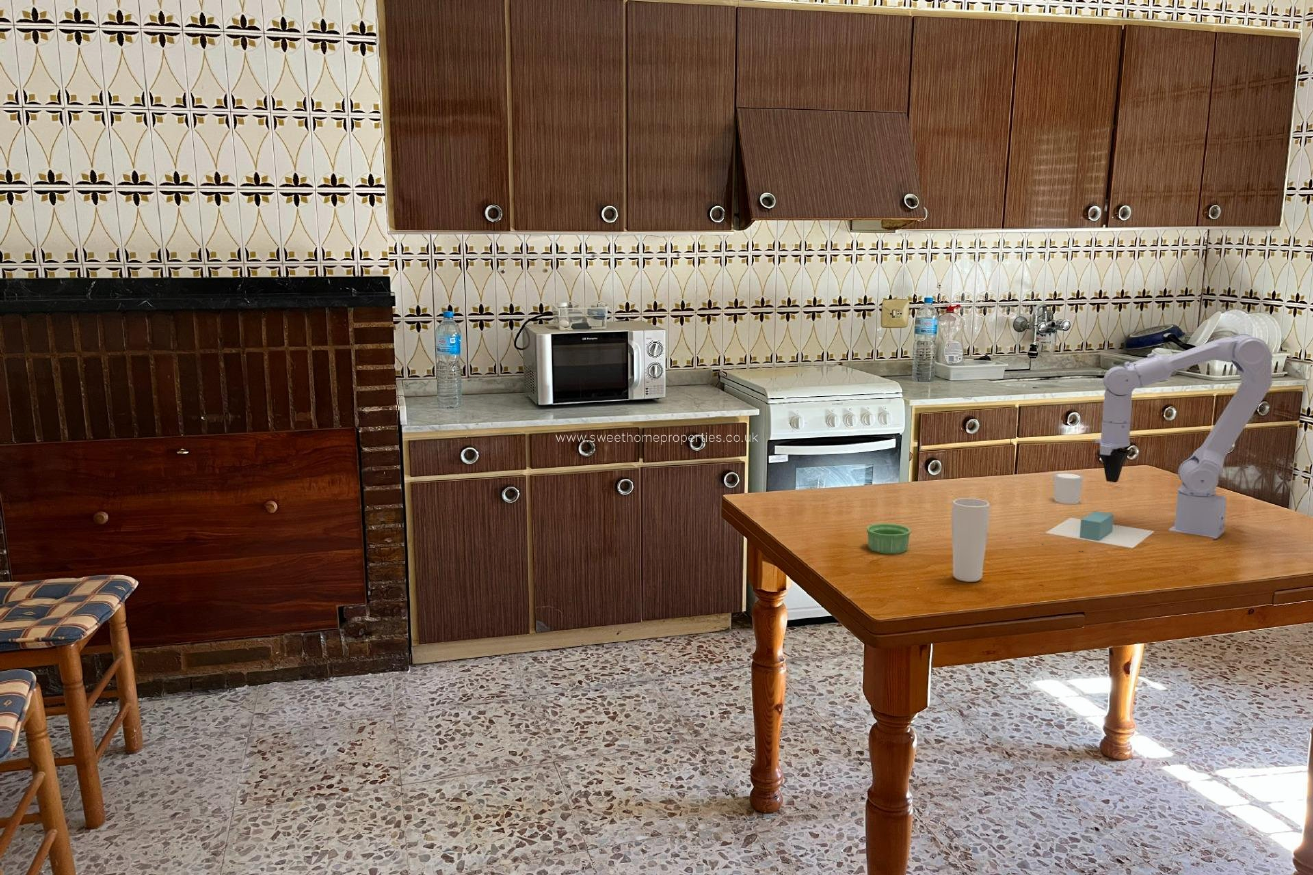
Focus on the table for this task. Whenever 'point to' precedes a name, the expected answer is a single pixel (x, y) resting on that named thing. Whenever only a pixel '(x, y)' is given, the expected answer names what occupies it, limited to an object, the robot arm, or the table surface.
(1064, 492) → the white cylinder
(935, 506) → the table surface
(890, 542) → the ramekin
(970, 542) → the drinking glass
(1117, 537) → the white mat
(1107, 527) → the teal block
